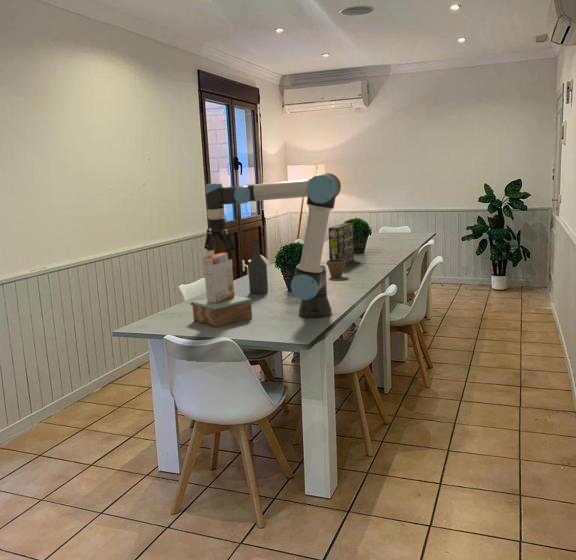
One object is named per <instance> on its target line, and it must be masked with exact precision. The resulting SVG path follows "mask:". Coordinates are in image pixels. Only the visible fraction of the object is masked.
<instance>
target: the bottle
mask: <svg viewBox="0 0 576 560" xmlns="http://www.w3.org/2000/svg"><path fill="white" fill-rule="evenodd" d="M252 253H253V254H252V257H251V258H250V262H249V263H248V266H247V268H248V269H247V270H248V281H249V282H248V283H249V286H248V287H249V292H250V294H253V295H263V294H267V293H268V291H269V285H268V284H269V283H268V268H267V267H268V265H267V262H265V260H264V259H263V257H262V256H261V253H260V247H259V242H258V238H253V252H252Z"/></svg>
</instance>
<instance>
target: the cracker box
mask: <svg viewBox="0 0 576 560" xmlns="http://www.w3.org/2000/svg"><path fill="white" fill-rule="evenodd" d="M225 253H226V252H220V253H215V254H214V255H212V256H208V255H207V256H205V257H202V261H203V271H204V282H205V283H204V284H205V293H206V299H207V302H208V303H219V302H222V301H224V300H227V299H229V298H232V297H235V296H236V295H235V286H234V274H233V273H234V272H233V266H231V267H227V265H226V254H225Z"/></svg>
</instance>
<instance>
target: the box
mask: <svg viewBox="0 0 576 560" xmlns="http://www.w3.org/2000/svg"><path fill="white" fill-rule="evenodd" d="M328 251H329V252H328V257H329V260H335V259H340V260H345V261H346V262H345V265H344V266H346V265H348V264H350V263H352V262H353V261H354V260H355V259H354V257H355V256H354V252H355V251H354V223H352V222H350V223H349V222H348V223H347V222H346V223H345V222H343V223H341V224H337V225H334V226H331V227H328ZM352 260H353V261H352ZM349 262H350V263H349ZM347 263H348V264H347Z"/></svg>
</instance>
